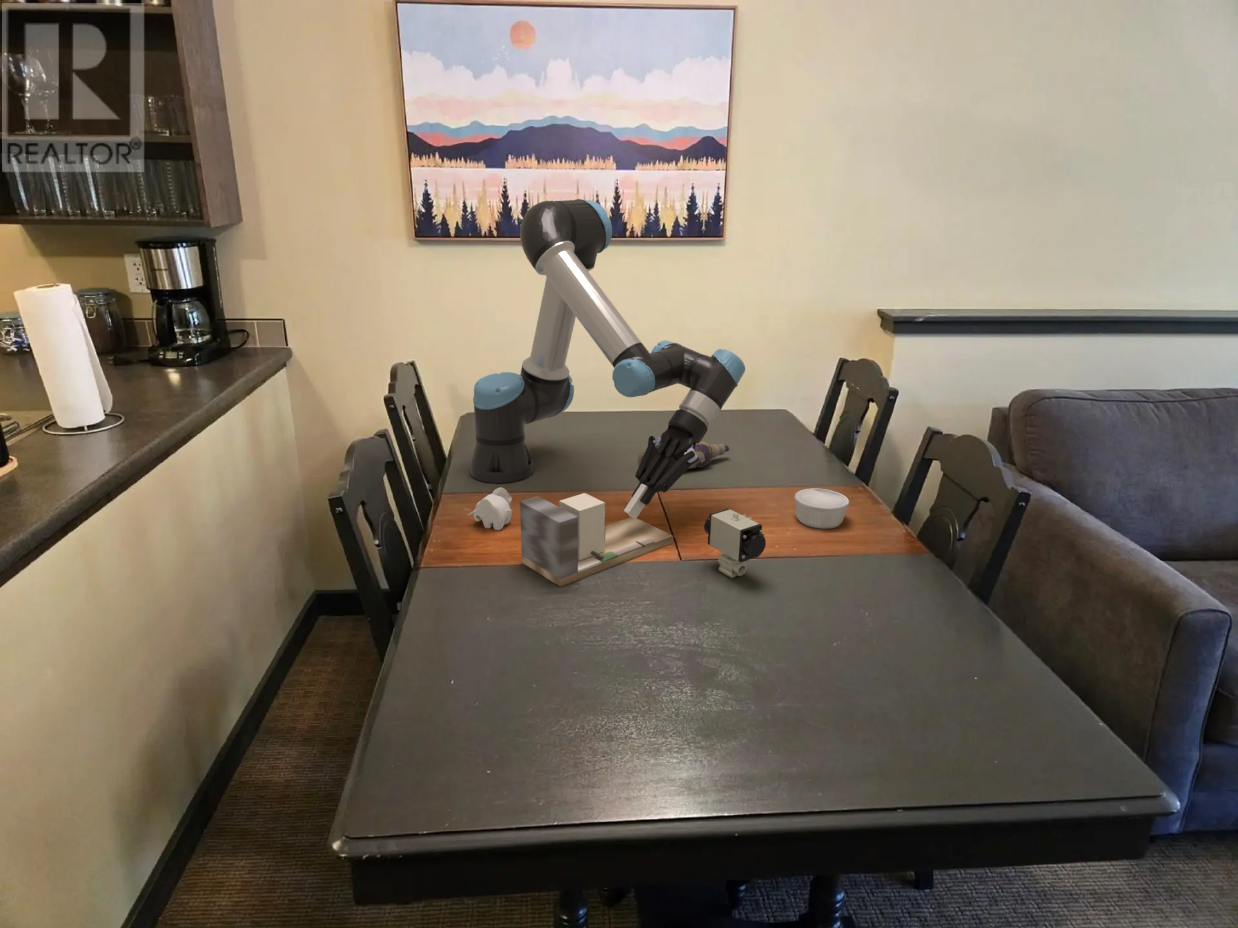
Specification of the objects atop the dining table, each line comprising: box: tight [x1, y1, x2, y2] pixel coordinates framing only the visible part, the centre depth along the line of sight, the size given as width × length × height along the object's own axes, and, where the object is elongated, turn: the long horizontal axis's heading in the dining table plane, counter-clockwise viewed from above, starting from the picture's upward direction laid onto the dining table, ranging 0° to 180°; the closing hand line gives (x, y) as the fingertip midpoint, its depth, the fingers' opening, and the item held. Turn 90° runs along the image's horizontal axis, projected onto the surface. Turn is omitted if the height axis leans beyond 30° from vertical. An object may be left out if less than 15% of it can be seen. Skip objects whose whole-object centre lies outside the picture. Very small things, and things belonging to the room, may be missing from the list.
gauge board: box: [519, 495, 674, 588], centre depth 154 cm, size 12×28×12 cm, turn 131°
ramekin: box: [794, 487, 850, 529], centre depth 172 cm, size 11×11×5 cm
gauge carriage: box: [558, 492, 606, 560], centre depth 150 cm, size 9×8×10 cm
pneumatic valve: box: [703, 508, 767, 579], centre depth 148 cm, size 6×12×12 cm, turn 35°
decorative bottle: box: [637, 440, 730, 470], centre depth 200 cm, size 26×8×7 cm, turn 121°
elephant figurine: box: [467, 486, 513, 531], centre depth 167 cm, size 8×10×7 cm
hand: (629, 514), depth 159 cm, fingers closed
